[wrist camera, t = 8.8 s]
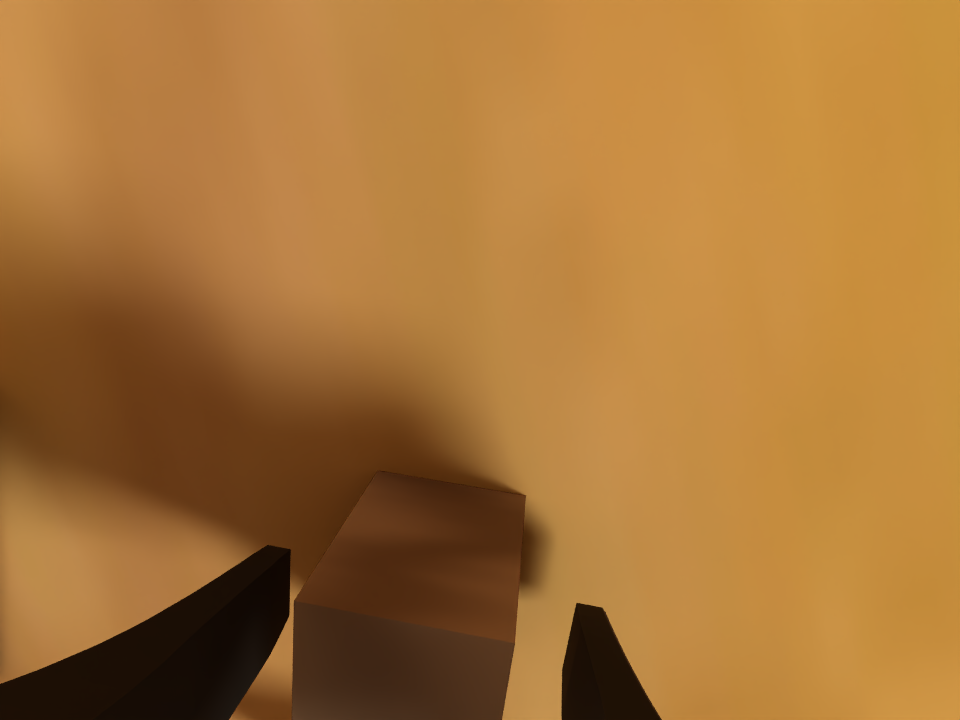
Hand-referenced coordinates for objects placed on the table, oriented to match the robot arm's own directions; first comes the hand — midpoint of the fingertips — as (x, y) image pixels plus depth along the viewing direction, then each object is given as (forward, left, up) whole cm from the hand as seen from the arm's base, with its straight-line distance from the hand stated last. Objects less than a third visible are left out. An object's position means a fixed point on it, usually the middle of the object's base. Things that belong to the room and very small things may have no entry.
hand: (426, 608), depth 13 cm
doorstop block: (0, 0, -2) cm, 2 cm away
